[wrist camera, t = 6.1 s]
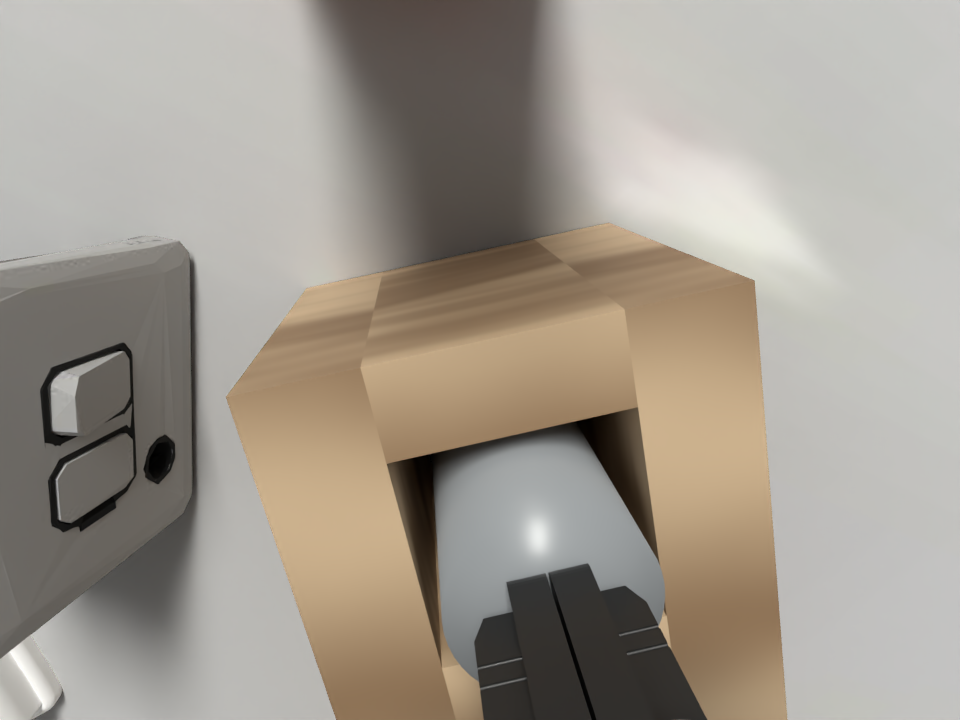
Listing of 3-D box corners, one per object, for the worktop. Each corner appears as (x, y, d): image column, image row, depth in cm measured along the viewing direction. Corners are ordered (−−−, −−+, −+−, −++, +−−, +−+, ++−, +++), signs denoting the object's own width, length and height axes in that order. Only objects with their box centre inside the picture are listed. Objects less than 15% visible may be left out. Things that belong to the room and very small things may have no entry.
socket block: (306, 288, 22) (225, 397, 12) (608, 222, 22) (754, 280, 13) (465, 841, 30) (489, 1167, 20) (687, 787, 30) (814, 1084, 21)
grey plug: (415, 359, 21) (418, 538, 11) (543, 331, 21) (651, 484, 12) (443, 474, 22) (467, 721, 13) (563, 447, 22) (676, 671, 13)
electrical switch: (197, 503, 24) (28, 709, 15) (47, 489, 24) (-213, 687, 15) (195, 235, 21) (-11, 291, 12) (26, 216, 21) (-304, 259, 12)
